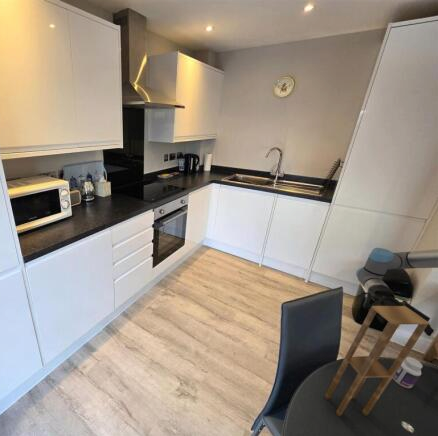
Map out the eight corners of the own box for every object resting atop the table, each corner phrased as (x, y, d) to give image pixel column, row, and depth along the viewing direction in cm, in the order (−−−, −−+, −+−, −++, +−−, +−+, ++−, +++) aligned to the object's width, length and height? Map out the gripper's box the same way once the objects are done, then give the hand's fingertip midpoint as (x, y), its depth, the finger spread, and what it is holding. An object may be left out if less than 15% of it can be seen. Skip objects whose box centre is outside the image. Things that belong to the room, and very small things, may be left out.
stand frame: (351, 395, 81) (404, 307, 66) (367, 415, 75) (428, 324, 61) (324, 396, 80) (371, 307, 66) (337, 416, 75) (392, 324, 60)
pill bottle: (415, 385, 85) (429, 366, 81) (406, 391, 83) (420, 371, 79) (396, 371, 90) (408, 353, 86) (387, 376, 88) (400, 357, 84)
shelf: (404, 307, 66) (405, 306, 66) (428, 324, 61) (429, 322, 61) (371, 307, 66) (372, 305, 65) (392, 324, 60) (393, 322, 60)
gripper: (410, 306, 105) (445, 346, 86) (342, 290, 112) (361, 323, 94) (419, 292, 102) (457, 330, 83) (348, 277, 110) (369, 308, 91)
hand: (406, 326), depth 89 cm, fingers open, 13 cm apart
